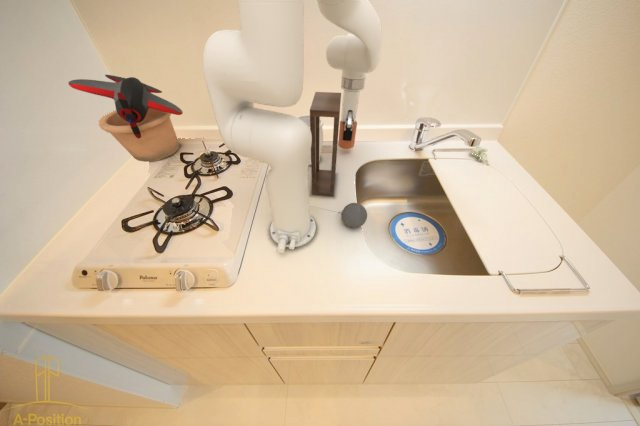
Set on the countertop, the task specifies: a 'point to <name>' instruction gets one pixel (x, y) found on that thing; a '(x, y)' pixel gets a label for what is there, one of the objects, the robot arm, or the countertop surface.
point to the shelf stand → (321, 107)
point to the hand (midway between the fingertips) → (347, 135)
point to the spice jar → (342, 142)
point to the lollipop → (353, 215)
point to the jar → (307, 120)
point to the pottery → (144, 135)
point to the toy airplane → (128, 98)
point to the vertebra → (480, 151)
